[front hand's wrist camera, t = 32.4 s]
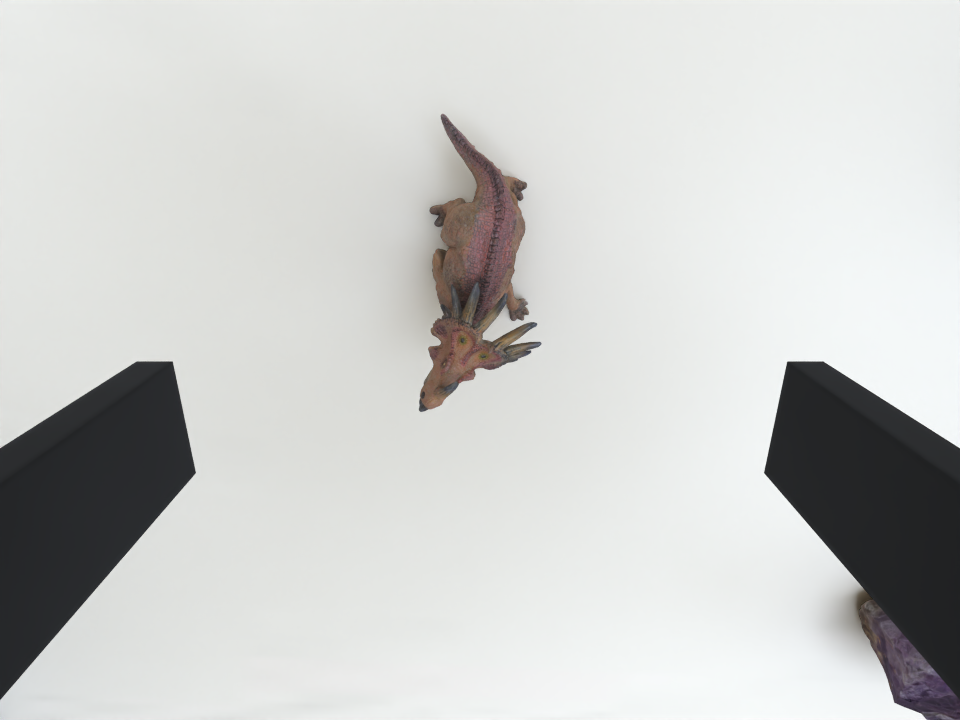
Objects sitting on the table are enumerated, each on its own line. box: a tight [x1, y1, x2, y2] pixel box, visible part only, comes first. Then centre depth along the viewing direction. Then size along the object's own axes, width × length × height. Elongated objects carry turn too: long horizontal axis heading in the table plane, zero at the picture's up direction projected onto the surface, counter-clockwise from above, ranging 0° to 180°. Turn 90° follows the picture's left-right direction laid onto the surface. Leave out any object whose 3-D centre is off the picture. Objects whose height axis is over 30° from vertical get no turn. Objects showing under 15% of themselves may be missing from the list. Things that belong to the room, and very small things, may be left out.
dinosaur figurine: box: [419, 114, 541, 412], centre depth 28 cm, size 14×6×9 cm, turn 178°
